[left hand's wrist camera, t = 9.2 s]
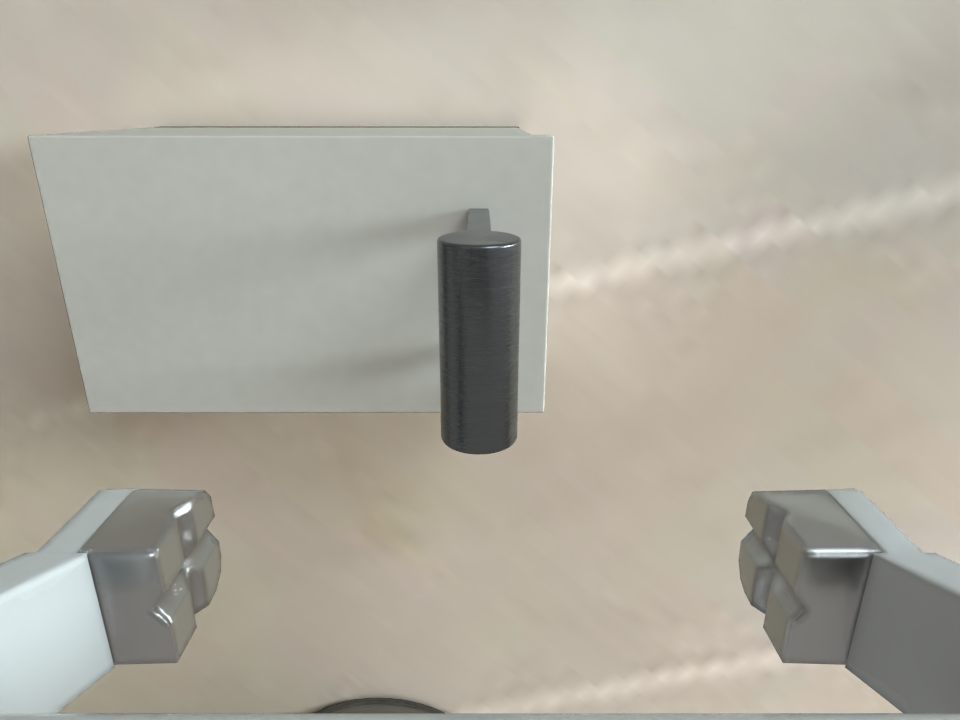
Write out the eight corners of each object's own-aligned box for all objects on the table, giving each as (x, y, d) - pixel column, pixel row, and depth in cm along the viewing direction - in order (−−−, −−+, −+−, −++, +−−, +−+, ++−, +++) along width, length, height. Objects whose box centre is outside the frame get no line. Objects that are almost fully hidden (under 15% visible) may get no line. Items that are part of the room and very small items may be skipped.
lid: (551, 135, 23) (589, 149, 15) (541, 403, 27) (568, 525, 19) (43, 134, 23) (-178, 148, 15) (101, 403, 27) (-53, 525, 19)
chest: (517, 126, 32) (533, 134, 23) (514, 330, 35) (525, 402, 27) (162, 126, 32) (43, 134, 23) (194, 330, 35) (102, 403, 27)
